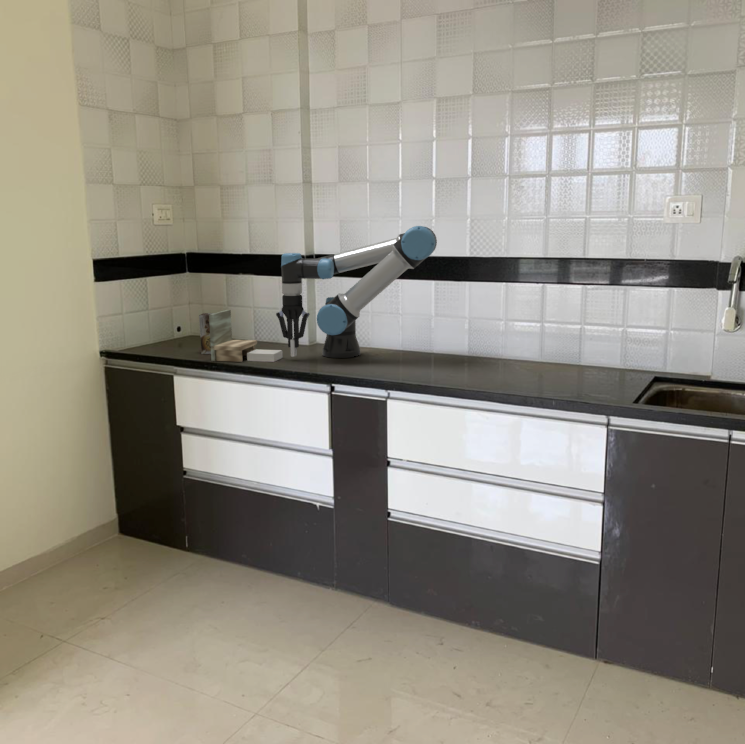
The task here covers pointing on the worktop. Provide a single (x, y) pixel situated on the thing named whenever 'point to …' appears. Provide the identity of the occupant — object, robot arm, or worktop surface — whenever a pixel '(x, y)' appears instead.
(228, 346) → the upright marbled panel
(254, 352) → the flat white block
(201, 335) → the coffee box
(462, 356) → the worktop surface
